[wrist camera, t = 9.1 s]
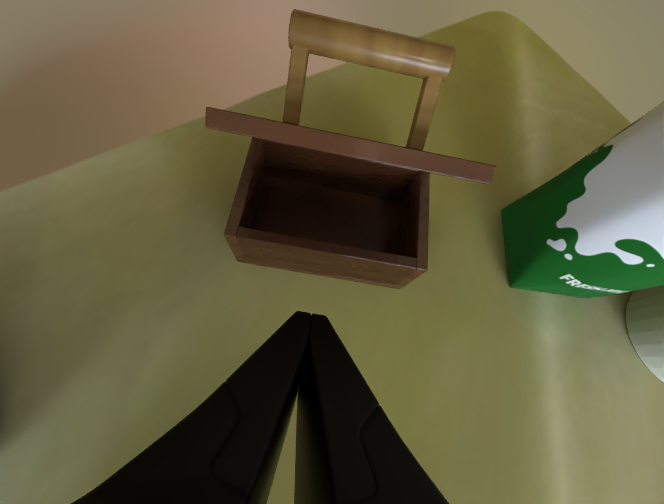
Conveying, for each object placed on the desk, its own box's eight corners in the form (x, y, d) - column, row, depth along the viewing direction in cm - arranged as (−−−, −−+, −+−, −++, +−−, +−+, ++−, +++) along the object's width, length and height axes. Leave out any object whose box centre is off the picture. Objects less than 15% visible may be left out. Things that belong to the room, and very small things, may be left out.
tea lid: (490, 184, 13) (541, 48, 12) (204, 127, 12) (210, -31, 11) (431, 166, 21) (455, 83, 19) (253, 130, 20) (261, 40, 19)
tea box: (400, 289, 23) (427, 270, 19) (237, 261, 22) (223, 234, 18) (405, 200, 26) (430, 164, 22) (260, 172, 25) (254, 129, 21)
